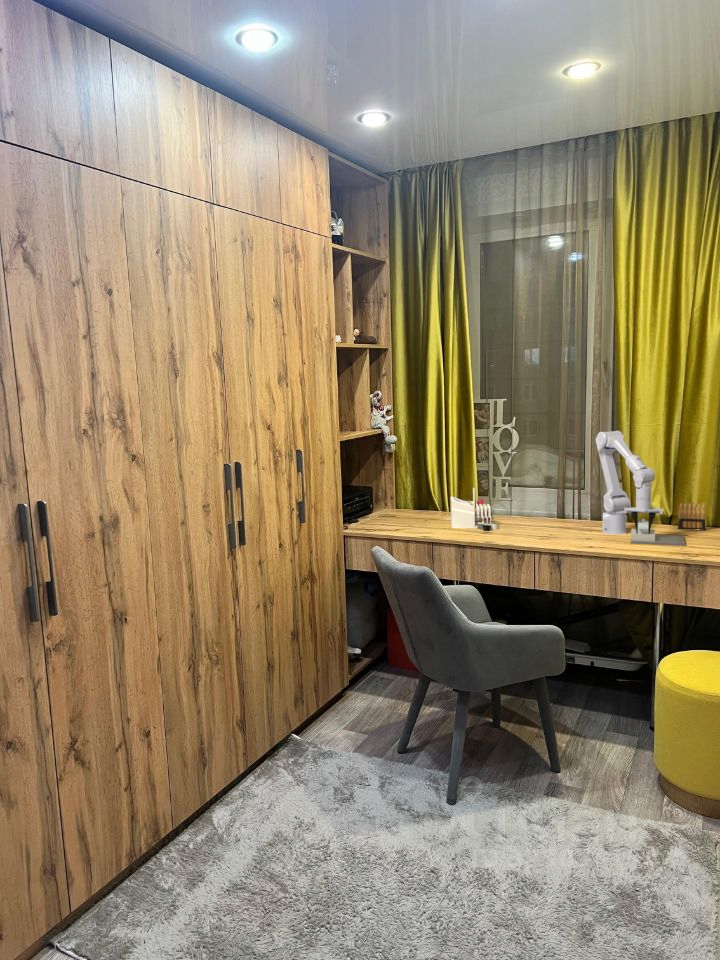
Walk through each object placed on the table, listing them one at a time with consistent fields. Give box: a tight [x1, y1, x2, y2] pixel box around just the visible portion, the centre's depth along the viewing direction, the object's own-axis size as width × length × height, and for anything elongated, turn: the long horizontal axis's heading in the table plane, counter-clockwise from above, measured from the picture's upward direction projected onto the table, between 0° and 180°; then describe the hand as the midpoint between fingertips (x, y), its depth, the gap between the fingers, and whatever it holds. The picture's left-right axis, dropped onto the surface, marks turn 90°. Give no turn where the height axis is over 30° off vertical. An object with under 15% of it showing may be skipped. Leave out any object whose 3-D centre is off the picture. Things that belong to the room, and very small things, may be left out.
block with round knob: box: [638, 518, 649, 534], centre depth 281 cm, size 4×10×5 cm, turn 158°
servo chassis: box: [630, 528, 686, 547], centre depth 280 cm, size 20×16×4 cm
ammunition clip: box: [677, 502, 707, 531], centre depth 296 cm, size 11×2×12 cm, turn 69°
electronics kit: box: [443, 487, 498, 532], centre depth 330 cm, size 45×26×16 cm, turn 176°
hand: (642, 530), depth 282 cm, fingers closed on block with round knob, 4 cm apart
